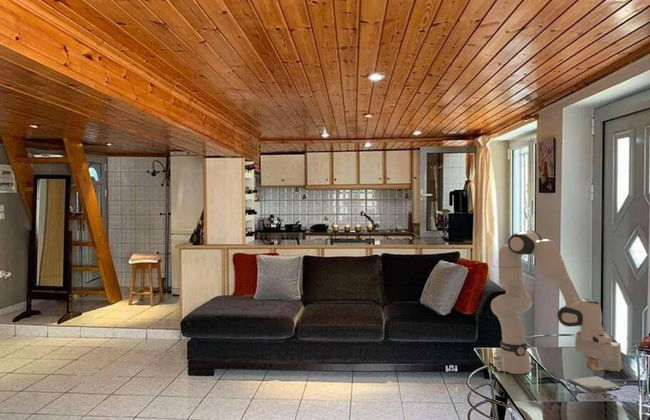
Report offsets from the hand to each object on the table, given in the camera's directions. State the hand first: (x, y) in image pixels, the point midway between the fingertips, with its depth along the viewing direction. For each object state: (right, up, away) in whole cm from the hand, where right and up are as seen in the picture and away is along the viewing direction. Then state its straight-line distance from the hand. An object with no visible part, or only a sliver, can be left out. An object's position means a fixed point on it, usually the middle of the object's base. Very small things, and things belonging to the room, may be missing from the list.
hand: (594, 365), depth 218 cm
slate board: (0, -9, 0) cm, 9 cm away
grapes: (+29, -8, +41) cm, 51 cm away
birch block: (0, -2, 0) cm, 2 cm away
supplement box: (+20, -8, +20) cm, 29 cm away
